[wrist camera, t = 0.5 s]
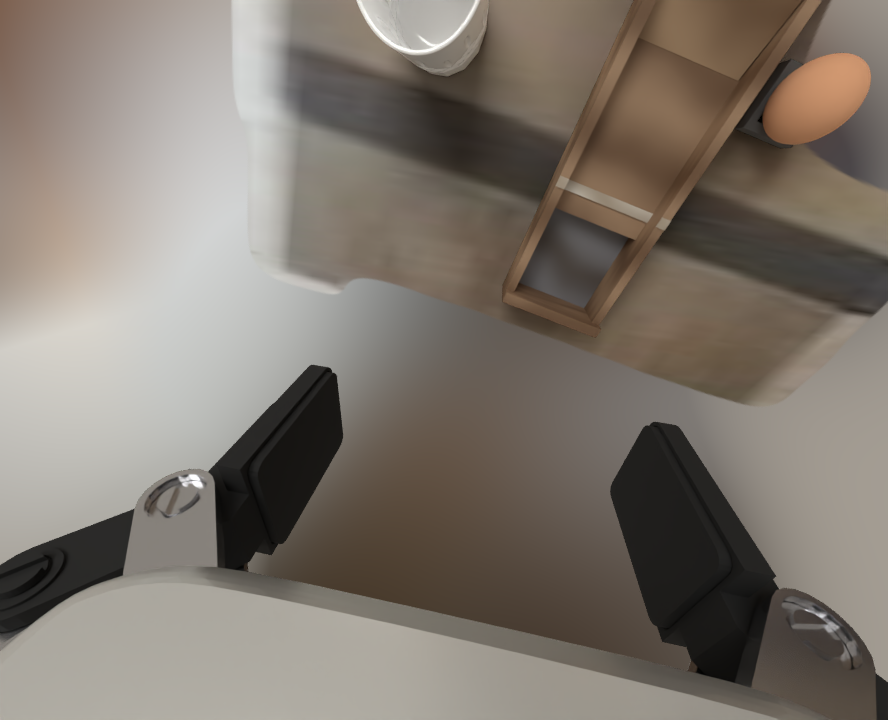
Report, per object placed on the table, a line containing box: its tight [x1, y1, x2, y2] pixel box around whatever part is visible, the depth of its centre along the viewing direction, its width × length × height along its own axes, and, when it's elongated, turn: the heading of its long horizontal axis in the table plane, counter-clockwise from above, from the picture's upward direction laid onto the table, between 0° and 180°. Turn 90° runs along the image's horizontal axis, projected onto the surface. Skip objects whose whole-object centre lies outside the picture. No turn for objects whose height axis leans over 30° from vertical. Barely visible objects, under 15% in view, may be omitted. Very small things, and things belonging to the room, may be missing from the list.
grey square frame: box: [735, 59, 804, 148], centre depth 25 cm, size 4×4×1 cm
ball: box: [763, 53, 871, 145], centre depth 23 cm, size 5×5×5 cm
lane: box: [502, 0, 822, 338], centre depth 26 cm, size 30×10×6 cm, turn 161°
